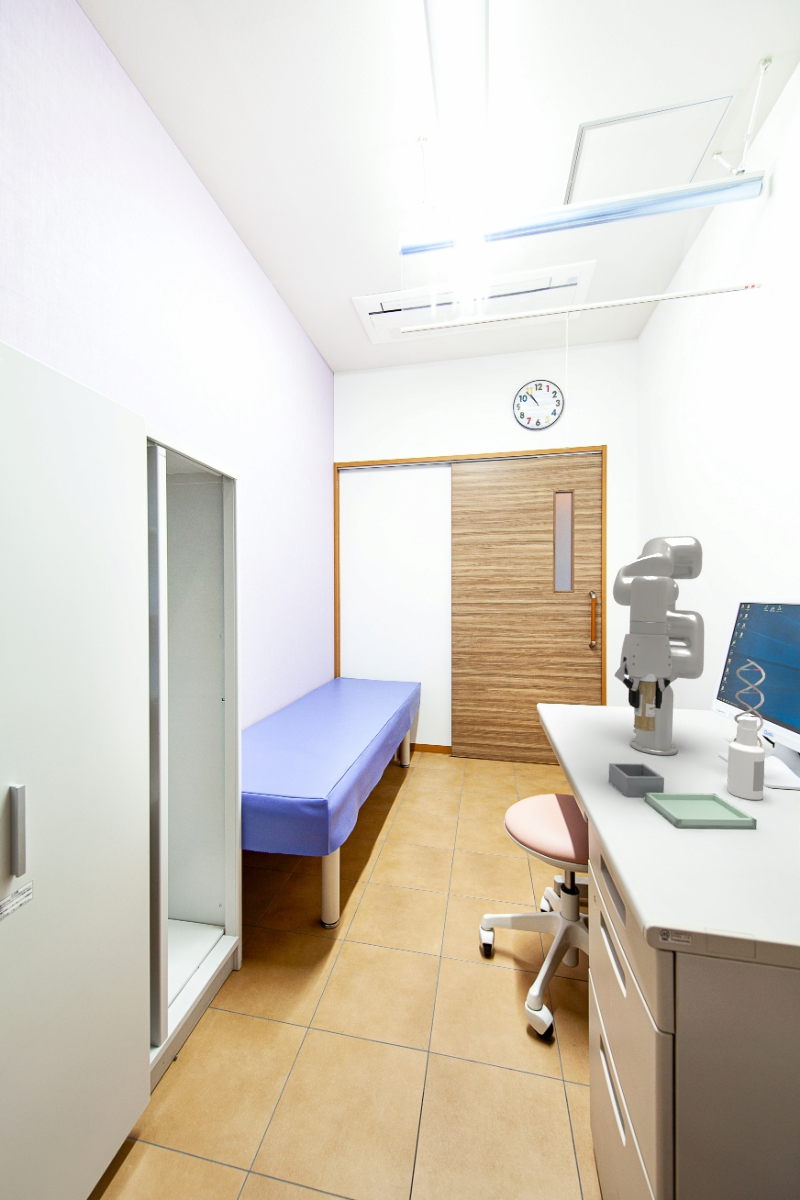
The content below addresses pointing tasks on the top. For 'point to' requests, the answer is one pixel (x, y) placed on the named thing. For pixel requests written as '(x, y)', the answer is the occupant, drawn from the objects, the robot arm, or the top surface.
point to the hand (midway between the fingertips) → (644, 706)
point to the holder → (635, 779)
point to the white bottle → (746, 762)
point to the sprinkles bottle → (646, 704)
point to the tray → (699, 811)
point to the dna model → (752, 693)
